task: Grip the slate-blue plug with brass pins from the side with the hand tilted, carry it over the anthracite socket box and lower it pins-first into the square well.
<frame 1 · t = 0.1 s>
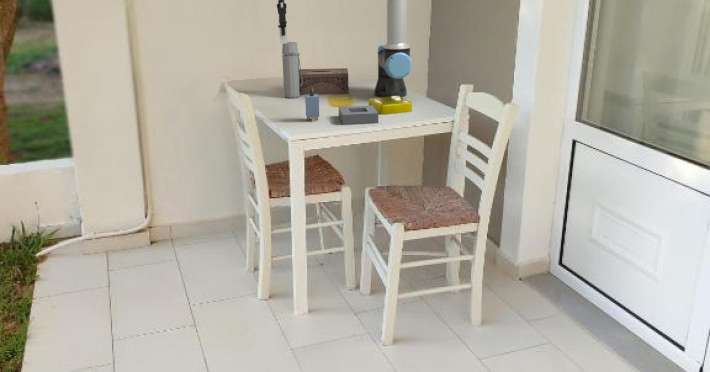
hand: (283, 41, 282), 28 cm above the table, tool pointing down, fingers open, 13 cm apart
plug: (312, 120, 266), on the table
element tile: (390, 111, 281), on the table
tissue box cover: (321, 92, 320), on the table
water bottle: (293, 97, 309), on the table
socket: (358, 119, 265), on the table
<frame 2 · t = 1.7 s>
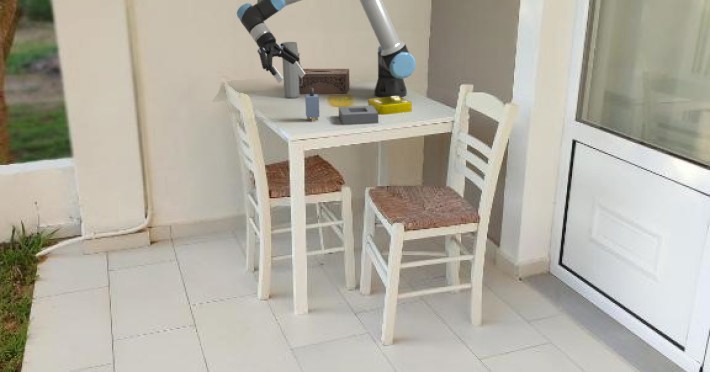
hand: (292, 78, 266), 16 cm above the table, tool tilted 45°, fingers open, 13 cm apart
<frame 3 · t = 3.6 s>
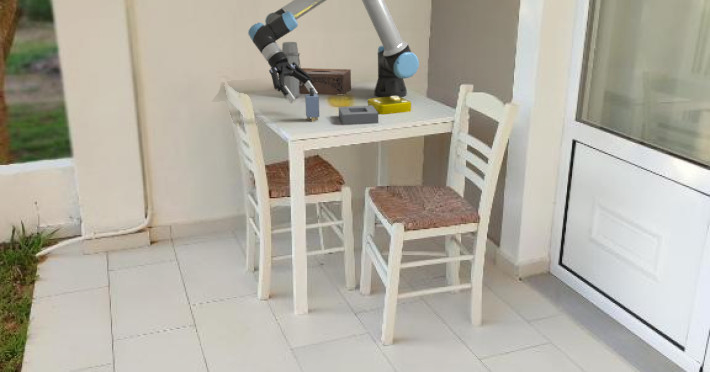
hand: (304, 98, 264), 9 cm above the table, tool tilted 45°, fingers open, 13 cm apart
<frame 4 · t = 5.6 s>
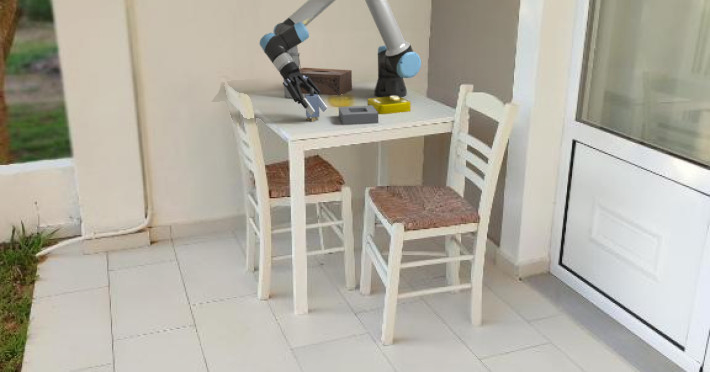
hand: (319, 111, 262), 4 cm above the table, tool tilted 45°, fingers closed on plug, 7 cm apart
plug: (312, 120, 266), on the table, touching gripper
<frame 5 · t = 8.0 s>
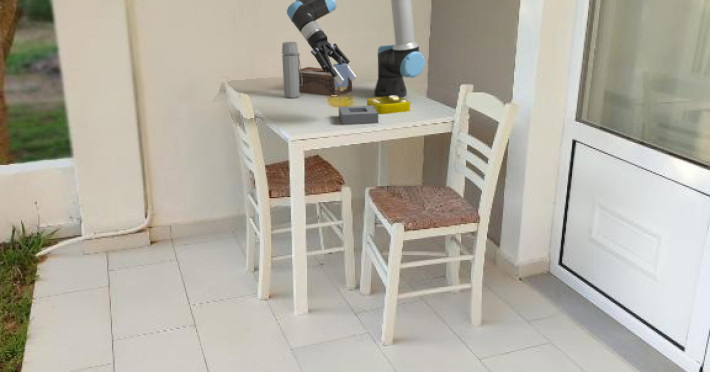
hand: (347, 80, 257), 16 cm above the table, tool tilted 45°, fingers closed on plug, 7 cm apart
plug: (341, 89, 261), point 12 cm above the table, touching gripper
when the fingers open (6 cm above the table, at t = 10.7 s): plug drops 1 cm, resting on socket.
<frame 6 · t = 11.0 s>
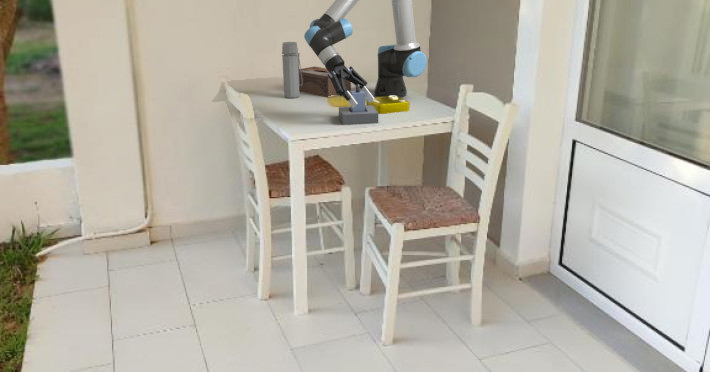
hand: (363, 103, 261), 7 cm above the table, tool tilted 45°, fingers open, 10 cm apart
plug: (358, 116, 265), point 1 cm above the table, touching socket
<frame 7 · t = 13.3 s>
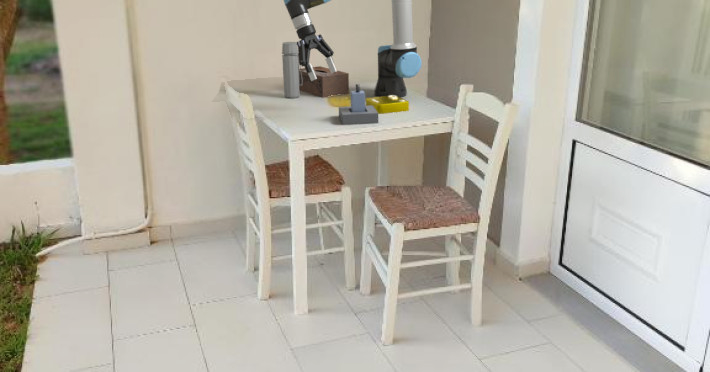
hand: (324, 76, 270), 16 cm above the table, tool tilted 25°, fingers open, 13 cm apart
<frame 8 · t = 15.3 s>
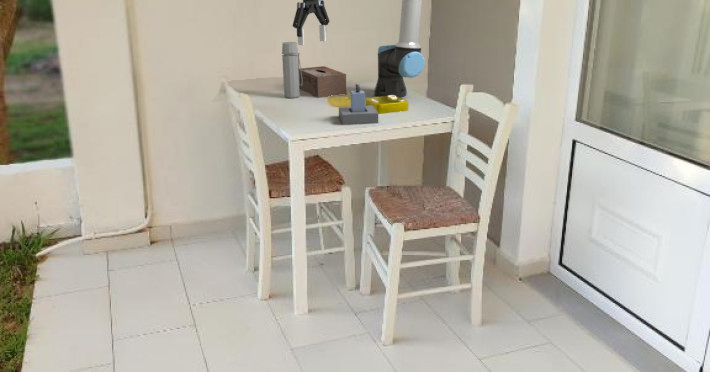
hand: (312, 43, 269), 29 cm above the table, tool pointing down, fingers open, 13 cm apart
at the end: plug 0.0 cm off-centre on the socket, point 1.2 cm above the socket's base; plug tilted 0°; the gripper is holding nothing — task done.
